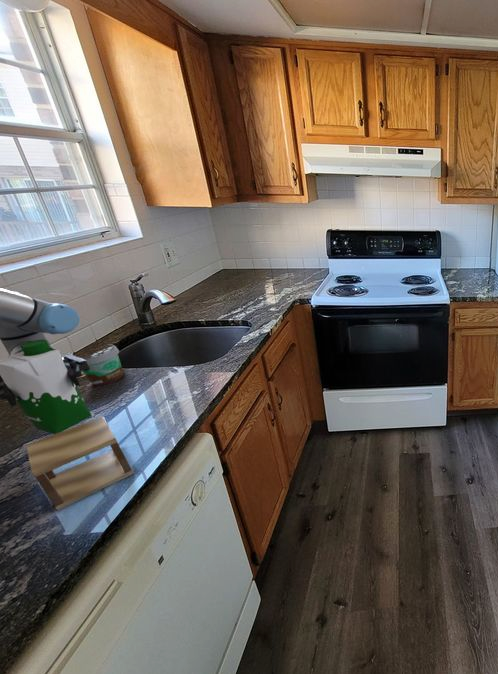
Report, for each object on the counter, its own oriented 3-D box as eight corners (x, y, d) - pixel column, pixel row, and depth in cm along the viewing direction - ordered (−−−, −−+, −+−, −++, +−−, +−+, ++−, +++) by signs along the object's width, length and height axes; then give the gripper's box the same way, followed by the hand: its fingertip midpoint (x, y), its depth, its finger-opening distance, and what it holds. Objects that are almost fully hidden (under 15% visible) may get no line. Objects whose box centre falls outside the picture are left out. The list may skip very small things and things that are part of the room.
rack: (49, 480, 81) (25, 445, 76) (120, 449, 89) (102, 415, 85) (57, 510, 73) (31, 473, 69) (134, 473, 82) (115, 437, 78)
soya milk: (98, 414, 89) (59, 341, 80) (52, 438, 81) (3, 359, 73) (75, 408, 91) (35, 336, 83) (28, 431, 84) (-21, 354, 75)
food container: (108, 388, 116) (94, 360, 111) (88, 388, 116) (74, 361, 111) (138, 368, 127) (126, 342, 122) (120, 369, 127) (108, 343, 122)
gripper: (96, 357, 101) (115, 383, 88) (-25, 392, 86) (-24, 429, 73) (84, 332, 98) (102, 355, 85) (-43, 364, 83) (-46, 398, 70)
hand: (44, 389), depth 79 cm, fingers closed on soya milk, 9 cm apart
